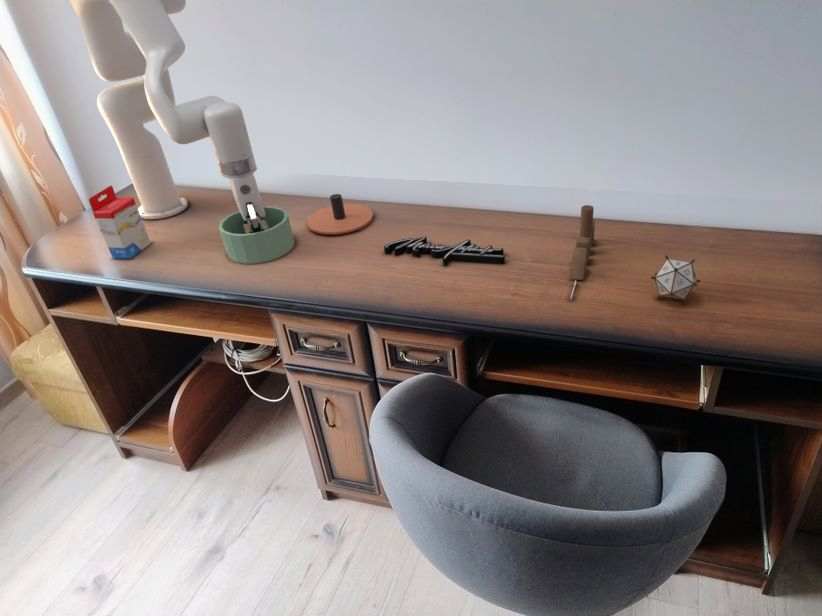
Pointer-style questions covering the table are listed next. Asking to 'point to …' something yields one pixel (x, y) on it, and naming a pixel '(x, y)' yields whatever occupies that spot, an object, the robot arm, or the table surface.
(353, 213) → the lid
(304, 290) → the table surface
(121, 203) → the ink box
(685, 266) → the game die
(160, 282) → the table surface
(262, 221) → the block
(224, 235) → the green round container
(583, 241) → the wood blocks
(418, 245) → the nameplate
